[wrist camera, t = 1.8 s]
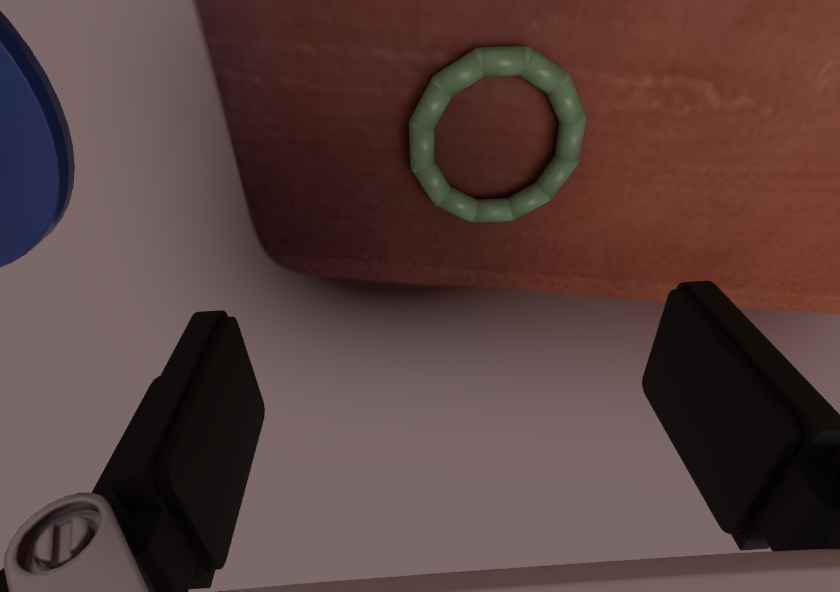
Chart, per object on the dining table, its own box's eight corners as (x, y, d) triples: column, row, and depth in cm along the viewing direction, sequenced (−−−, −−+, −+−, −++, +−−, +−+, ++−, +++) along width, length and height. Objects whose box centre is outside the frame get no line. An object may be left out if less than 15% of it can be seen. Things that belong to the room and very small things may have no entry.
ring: (412, 218, 27) (412, 229, 26) (405, 47, 22) (406, 52, 21) (565, 212, 27) (572, 222, 26) (593, 40, 22) (602, 45, 21)
